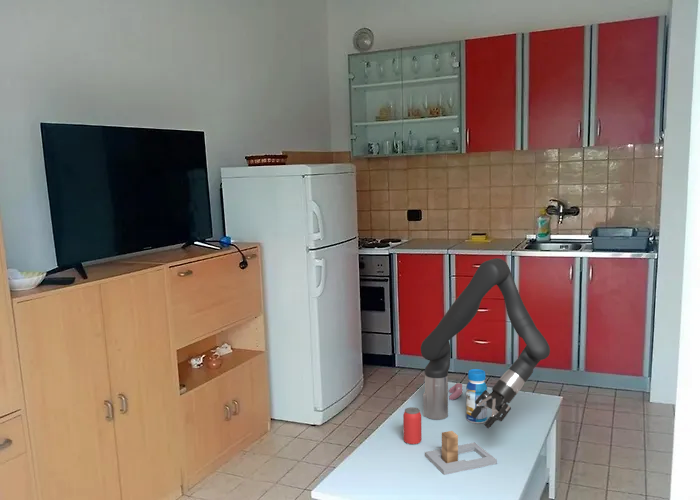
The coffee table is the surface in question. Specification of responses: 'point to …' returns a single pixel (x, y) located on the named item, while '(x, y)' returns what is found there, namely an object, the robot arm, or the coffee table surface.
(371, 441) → the coffee table surface
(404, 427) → the beer can
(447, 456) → the tan peg
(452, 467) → the keyhole plate
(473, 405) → the beverage bottle
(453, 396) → the video game controller
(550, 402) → the coffee table surface
